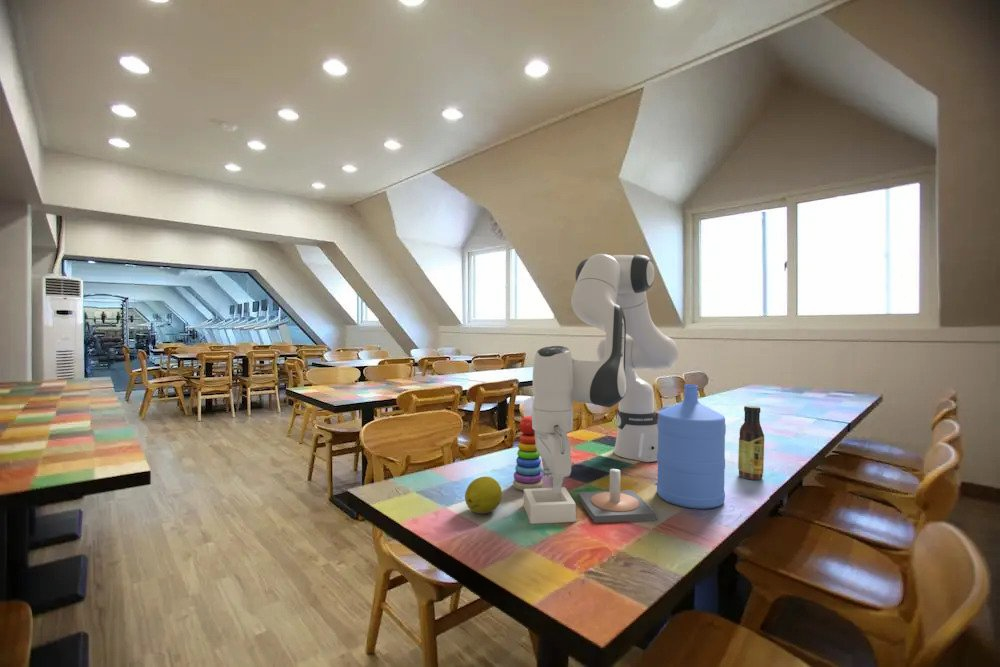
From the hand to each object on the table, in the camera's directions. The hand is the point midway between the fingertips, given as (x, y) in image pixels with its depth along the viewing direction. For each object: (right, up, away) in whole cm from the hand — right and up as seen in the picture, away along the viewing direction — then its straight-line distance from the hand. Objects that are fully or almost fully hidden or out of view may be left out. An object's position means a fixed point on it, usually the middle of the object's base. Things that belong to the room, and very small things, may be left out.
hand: (551, 484), depth 102 cm
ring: (0, -8, +5) cm, 9 cm away
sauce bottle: (+59, -8, +29) cm, 66 cm away
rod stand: (+16, -8, +7) cm, 19 cm away
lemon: (-15, -9, +5) cm, 18 cm away
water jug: (+36, -8, +14) cm, 39 cm away
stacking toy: (-4, -8, +21) cm, 23 cm away
